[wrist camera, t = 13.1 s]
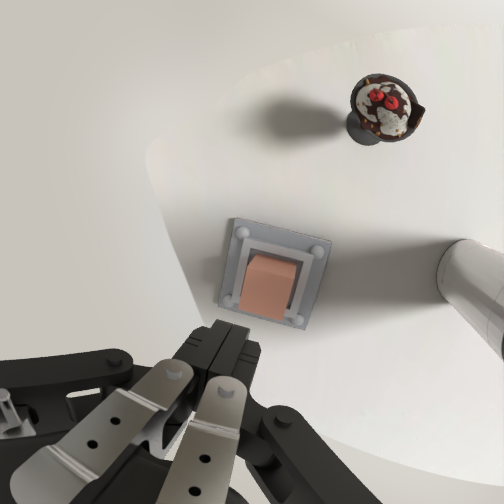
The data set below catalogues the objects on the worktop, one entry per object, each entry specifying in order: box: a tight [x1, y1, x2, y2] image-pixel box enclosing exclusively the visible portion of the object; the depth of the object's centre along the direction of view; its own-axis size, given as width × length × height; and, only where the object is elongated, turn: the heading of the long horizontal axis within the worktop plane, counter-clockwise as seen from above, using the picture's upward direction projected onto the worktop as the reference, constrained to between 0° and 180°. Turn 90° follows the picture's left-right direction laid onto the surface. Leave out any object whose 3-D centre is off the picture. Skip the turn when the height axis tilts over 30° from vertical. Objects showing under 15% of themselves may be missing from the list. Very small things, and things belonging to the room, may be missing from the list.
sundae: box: [347, 74, 425, 146], centre depth 24 cm, size 7×7×15 cm
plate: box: [218, 218, 332, 330], centre depth 37 cm, size 12×12×2 cm
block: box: [238, 253, 297, 321], centre depth 34 cm, size 5×5×6 cm
